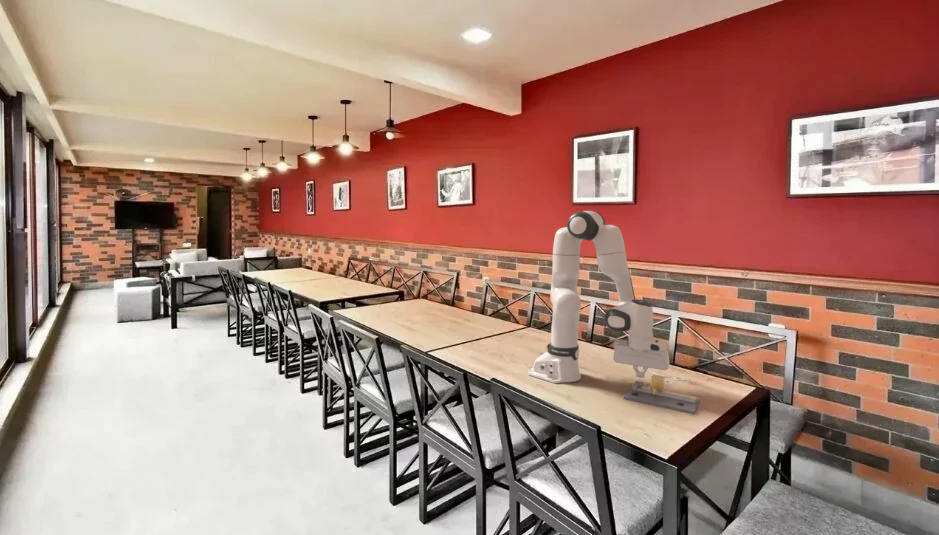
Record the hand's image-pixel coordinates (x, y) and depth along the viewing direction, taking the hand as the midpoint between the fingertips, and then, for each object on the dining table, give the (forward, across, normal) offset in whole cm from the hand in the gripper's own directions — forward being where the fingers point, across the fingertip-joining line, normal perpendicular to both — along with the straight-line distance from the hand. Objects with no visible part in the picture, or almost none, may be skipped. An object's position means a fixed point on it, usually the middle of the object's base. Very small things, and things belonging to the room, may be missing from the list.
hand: (640, 376), depth 174 cm
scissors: (+8, +2, +24) cm, 25 cm away
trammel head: (+5, +6, -2) cm, 8 cm away
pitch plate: (+7, +8, -3) cm, 11 cm away
